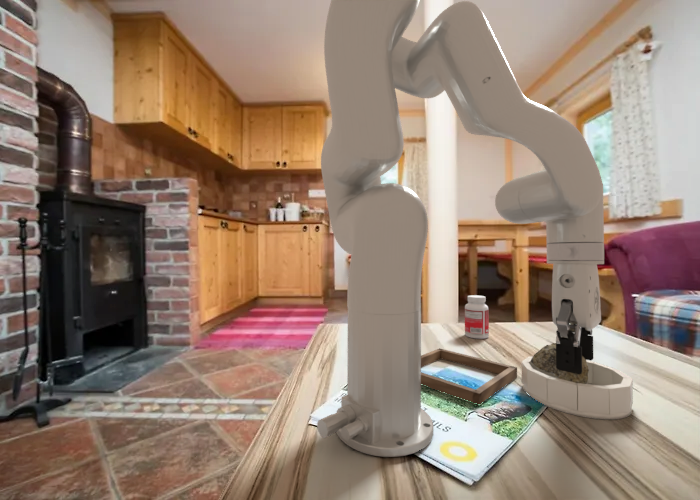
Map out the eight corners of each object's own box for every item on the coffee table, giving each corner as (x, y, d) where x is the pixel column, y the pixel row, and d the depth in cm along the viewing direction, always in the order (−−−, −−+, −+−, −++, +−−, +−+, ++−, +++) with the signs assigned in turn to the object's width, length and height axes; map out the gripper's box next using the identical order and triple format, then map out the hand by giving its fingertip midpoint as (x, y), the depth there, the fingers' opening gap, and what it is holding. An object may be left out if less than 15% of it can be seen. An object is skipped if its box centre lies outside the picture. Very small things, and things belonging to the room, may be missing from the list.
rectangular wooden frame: (479, 405, 47) (479, 393, 47) (394, 375, 59) (394, 366, 59) (517, 377, 58) (517, 367, 58) (439, 356, 70) (439, 348, 70)
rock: (594, 386, 51) (607, 363, 50) (571, 394, 47) (585, 368, 46) (551, 359, 57) (561, 337, 56) (527, 363, 53) (538, 340, 52)
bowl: (626, 431, 41) (625, 397, 41) (510, 395, 51) (510, 368, 51) (636, 397, 50) (635, 370, 50) (537, 373, 60) (537, 350, 60)
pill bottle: (479, 333, 91) (479, 294, 91) (493, 338, 85) (493, 297, 85) (460, 334, 90) (460, 295, 90) (473, 339, 84) (473, 298, 84)
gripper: (592, 255, 42) (594, 388, 42) (612, 254, 54) (613, 357, 54) (530, 255, 47) (531, 372, 47) (560, 254, 59) (562, 347, 59)
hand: (575, 363), depth 50 cm, fingers open, 7 cm apart
